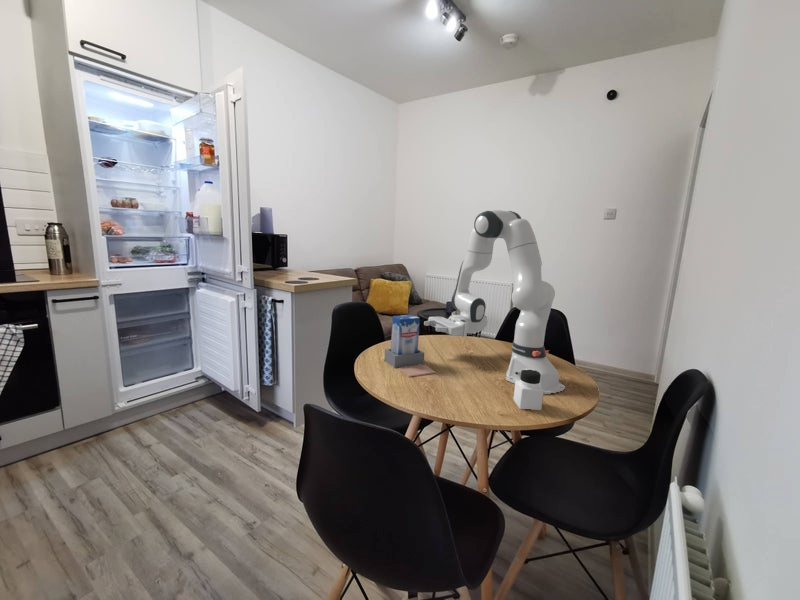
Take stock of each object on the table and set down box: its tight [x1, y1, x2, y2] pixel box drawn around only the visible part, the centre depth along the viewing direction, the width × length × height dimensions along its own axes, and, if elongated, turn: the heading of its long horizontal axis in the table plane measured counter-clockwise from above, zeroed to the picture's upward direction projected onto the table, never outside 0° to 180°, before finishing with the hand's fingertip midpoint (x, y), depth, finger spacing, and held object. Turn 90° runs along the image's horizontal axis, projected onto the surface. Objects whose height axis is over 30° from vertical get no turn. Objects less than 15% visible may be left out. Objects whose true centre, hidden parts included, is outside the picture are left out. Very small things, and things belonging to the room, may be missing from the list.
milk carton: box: [390, 314, 421, 355], centre depth 148 cm, size 10×6×20 cm, turn 123°
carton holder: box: [383, 348, 425, 369], centre depth 149 cm, size 10×14×5 cm
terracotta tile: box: [397, 363, 436, 378], centre depth 140 cm, size 9×12×1 cm
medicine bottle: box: [512, 369, 545, 411], centre depth 114 cm, size 7×7×12 cm
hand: (430, 326), depth 153 cm, fingers open, 8 cm apart
